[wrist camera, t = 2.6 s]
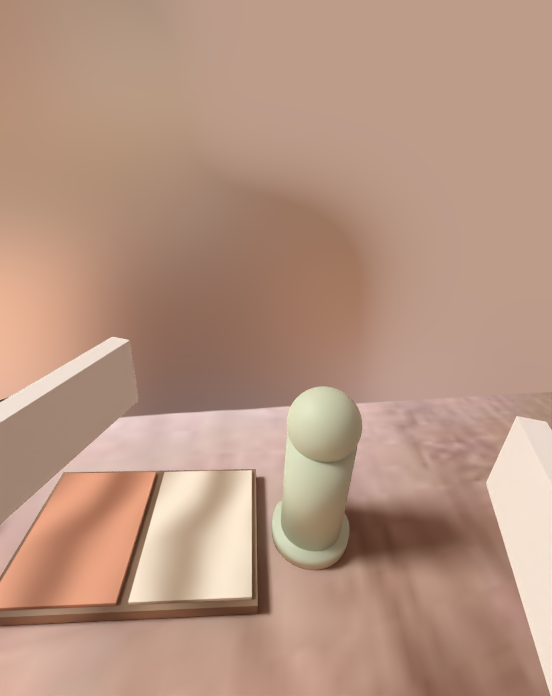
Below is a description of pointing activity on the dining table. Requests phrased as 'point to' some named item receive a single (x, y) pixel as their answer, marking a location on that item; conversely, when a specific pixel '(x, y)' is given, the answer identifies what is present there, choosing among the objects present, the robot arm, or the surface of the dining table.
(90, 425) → the robot arm
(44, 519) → the board
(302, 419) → the pawn
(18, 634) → the dining table surface
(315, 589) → the dining table surface
